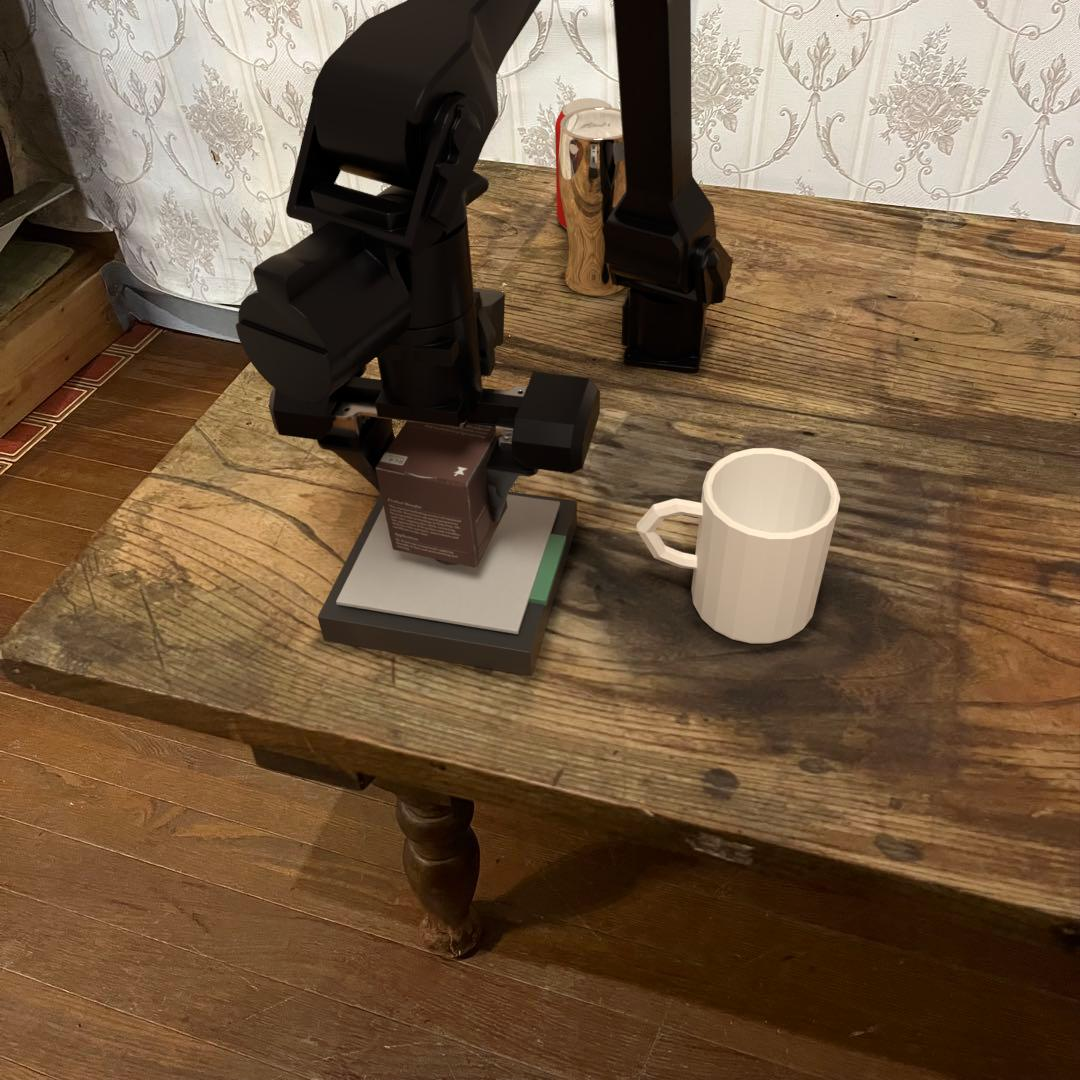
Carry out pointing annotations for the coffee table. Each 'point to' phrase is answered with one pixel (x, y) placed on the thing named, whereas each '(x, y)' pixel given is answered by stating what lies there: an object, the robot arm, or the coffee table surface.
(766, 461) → the mug
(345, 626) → the scale
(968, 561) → the coffee table surface
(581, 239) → the beer glass
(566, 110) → the beverage can
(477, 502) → the box
